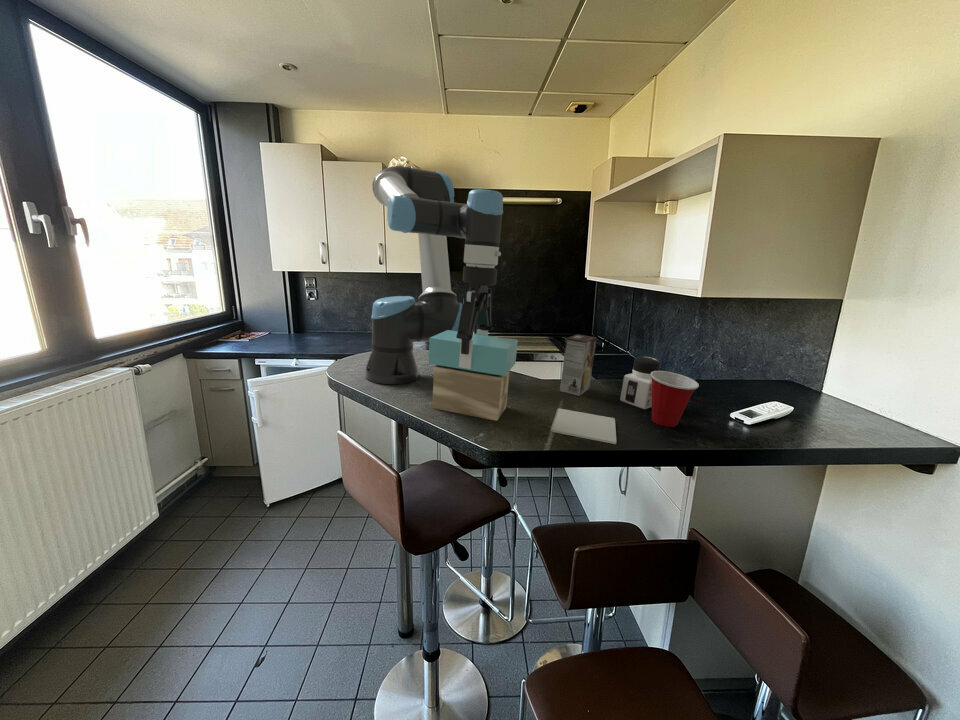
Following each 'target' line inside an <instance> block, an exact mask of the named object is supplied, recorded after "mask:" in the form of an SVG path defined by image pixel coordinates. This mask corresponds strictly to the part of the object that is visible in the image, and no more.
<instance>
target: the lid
mask: <svg viewBox="0 0 960 720" xmlns="http://www.w3.org/2000/svg"><path fill="white" fill-rule="evenodd" d="M457 332H458V331H451V330H447V331H444V332H442V333H440V334H437V335H435V336H433V337H430V338H429V342H428V343H429V344H428V359H427V360H428V365H429V364H430V365H434V366H436V365H441V366H447V367H453V368H459V369H465V370H471V371H477V372H483V373H489V374H495V375H501V376H505V375H506V374H507V373H508V372H509V370H510V371H511V369H512V368H513V367H514V366H515V365H516V362H517V361H516V360H517V351H518V341H519V340H518V339H514V338H506V337H501V336H493V335H488V336H487V335H479V334H477V333H473V336H472V339H473V353H472V366H471V369H467V368H461V367H459V356H460V341H461V339H459V338H457V337H456V336H457Z"/></svg>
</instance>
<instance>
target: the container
mask: <svg viewBox="0 0 960 720" xmlns="http://www.w3.org/2000/svg"><path fill="white" fill-rule="evenodd" d="M660 364H661V362H660V361H659V360H658V359H656V358H653V357H649V356H637V357H635V358H634V360H633V366H632V373H628V374H625V375H624V376H623V379H622V380H623V381H622V388H621V393H620V396H619V397H620V398H619V400H620V402H623V403H625V404H629V405H631V406H634V407H637V408H640V409H642V410H647V409H650V408H651V405H652V378H651V372H653V371H660Z"/></svg>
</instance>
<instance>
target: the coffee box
mask: <svg viewBox="0 0 960 720" xmlns="http://www.w3.org/2000/svg"><path fill="white" fill-rule="evenodd" d="M597 337H598V336H597ZM597 337H596V336H589V335H585V334H574V335H571V336H569V337H567V338H566V340H565V341H566V342H565V347H564V355H563V363H562V372H561V378H560V386H559V391H560V392H561V393H566V394H571V395H574V396H579V397H580V396H582V395H583V394H584V393H585V392H586V391H588V390H589V389H590V386H591V379H592V373H593V372H592V371H593V365H594V359H595V353H596V352H595V351H596V346H597V339H598V338H597Z"/></svg>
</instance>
